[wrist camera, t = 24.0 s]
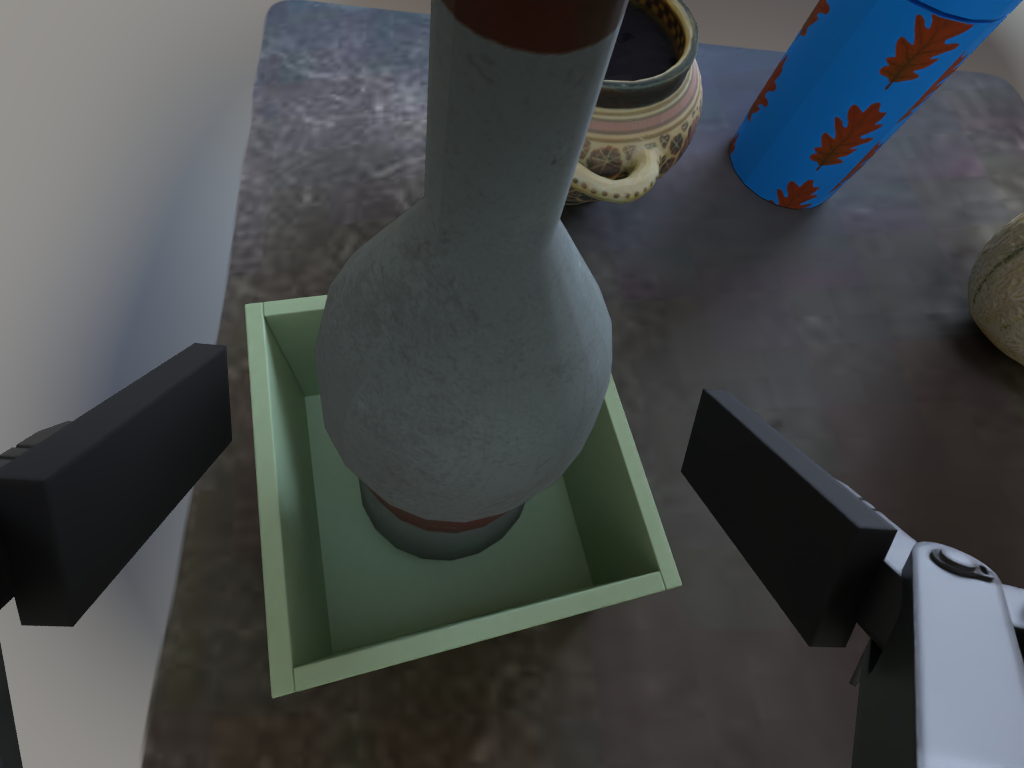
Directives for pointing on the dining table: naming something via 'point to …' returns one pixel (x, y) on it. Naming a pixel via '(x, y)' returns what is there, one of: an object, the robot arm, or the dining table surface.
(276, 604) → the waste bin
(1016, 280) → the cantaloupe
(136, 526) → the robot arm
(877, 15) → the thermos
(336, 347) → the grey bottle vase
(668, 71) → the ceramic bowl
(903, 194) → the dining table surface
